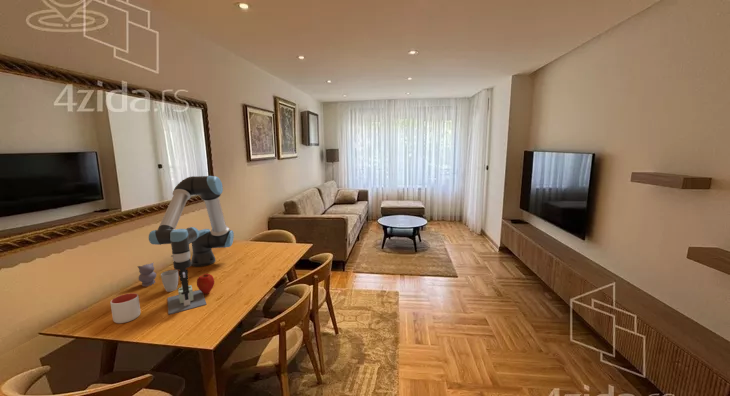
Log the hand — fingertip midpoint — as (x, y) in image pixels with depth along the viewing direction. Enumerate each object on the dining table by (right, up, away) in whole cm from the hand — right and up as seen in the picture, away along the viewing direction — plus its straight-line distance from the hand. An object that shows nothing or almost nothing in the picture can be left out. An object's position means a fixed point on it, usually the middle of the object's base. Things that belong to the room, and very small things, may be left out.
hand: (186, 300), depth 152 cm
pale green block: (0, 0, 0) cm, 0 cm away
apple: (+6, +1, +9) cm, 11 cm away
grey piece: (0, -1, 0) cm, 1 cm away
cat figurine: (-35, +2, +21) cm, 41 cm away
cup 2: (-17, +1, +14) cm, 22 cm away
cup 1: (-18, -3, -15) cm, 24 cm away
